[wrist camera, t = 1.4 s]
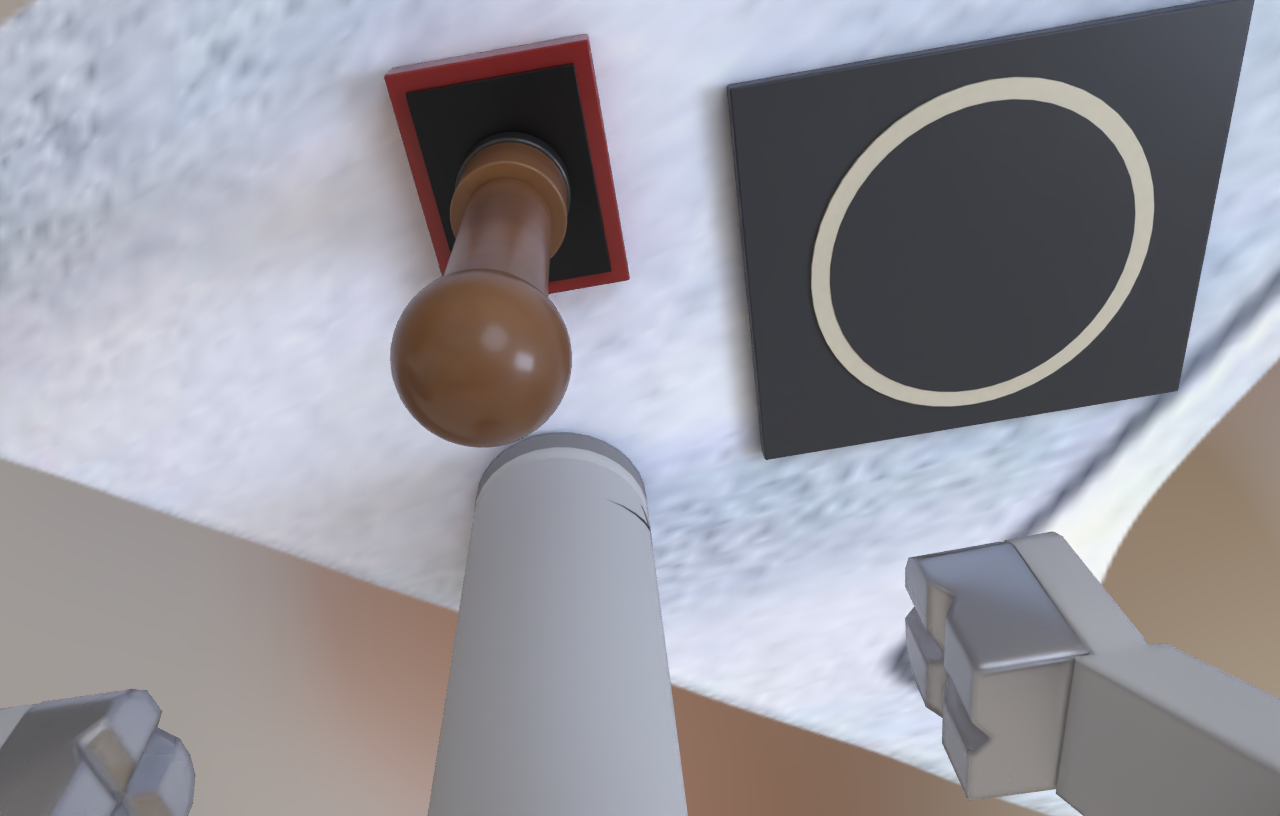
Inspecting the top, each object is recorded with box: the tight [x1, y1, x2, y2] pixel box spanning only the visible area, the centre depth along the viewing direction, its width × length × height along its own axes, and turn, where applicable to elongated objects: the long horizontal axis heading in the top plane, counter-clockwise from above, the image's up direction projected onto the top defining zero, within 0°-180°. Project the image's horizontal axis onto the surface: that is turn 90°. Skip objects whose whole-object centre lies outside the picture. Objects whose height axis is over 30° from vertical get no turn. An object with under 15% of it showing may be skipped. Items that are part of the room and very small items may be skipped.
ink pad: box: [384, 34, 630, 294], centre depth 25 cm, size 7×6×2 cm
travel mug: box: [428, 433, 688, 816], centre depth 23 cm, size 6×7×20 cm
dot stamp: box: [390, 132, 572, 447], centre depth 19 cm, size 3×3×12 cm
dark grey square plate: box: [727, 0, 1254, 460], centre depth 28 cm, size 13×15×1 cm
